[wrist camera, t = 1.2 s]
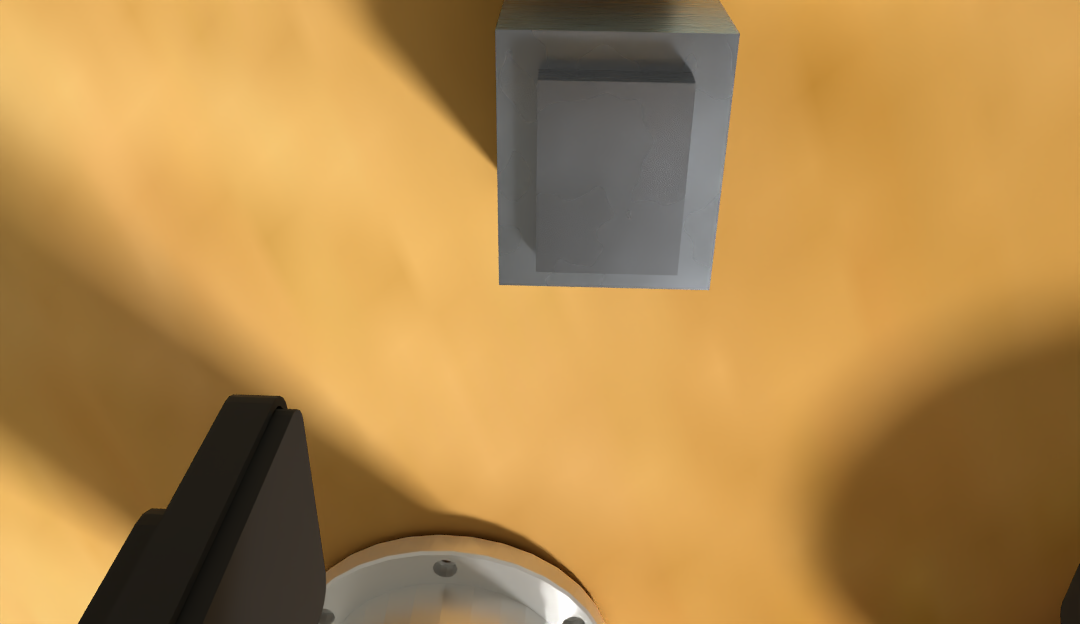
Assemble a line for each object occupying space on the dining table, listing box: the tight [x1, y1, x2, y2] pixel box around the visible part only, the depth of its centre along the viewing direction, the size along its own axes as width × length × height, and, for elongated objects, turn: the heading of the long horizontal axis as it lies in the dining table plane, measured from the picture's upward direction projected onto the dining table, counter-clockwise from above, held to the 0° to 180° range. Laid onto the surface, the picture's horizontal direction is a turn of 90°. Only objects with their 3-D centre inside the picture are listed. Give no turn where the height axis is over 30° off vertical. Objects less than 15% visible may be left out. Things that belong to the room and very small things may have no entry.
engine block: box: [495, 0, 740, 290], centre depth 23 cm, size 6×5×7 cm
